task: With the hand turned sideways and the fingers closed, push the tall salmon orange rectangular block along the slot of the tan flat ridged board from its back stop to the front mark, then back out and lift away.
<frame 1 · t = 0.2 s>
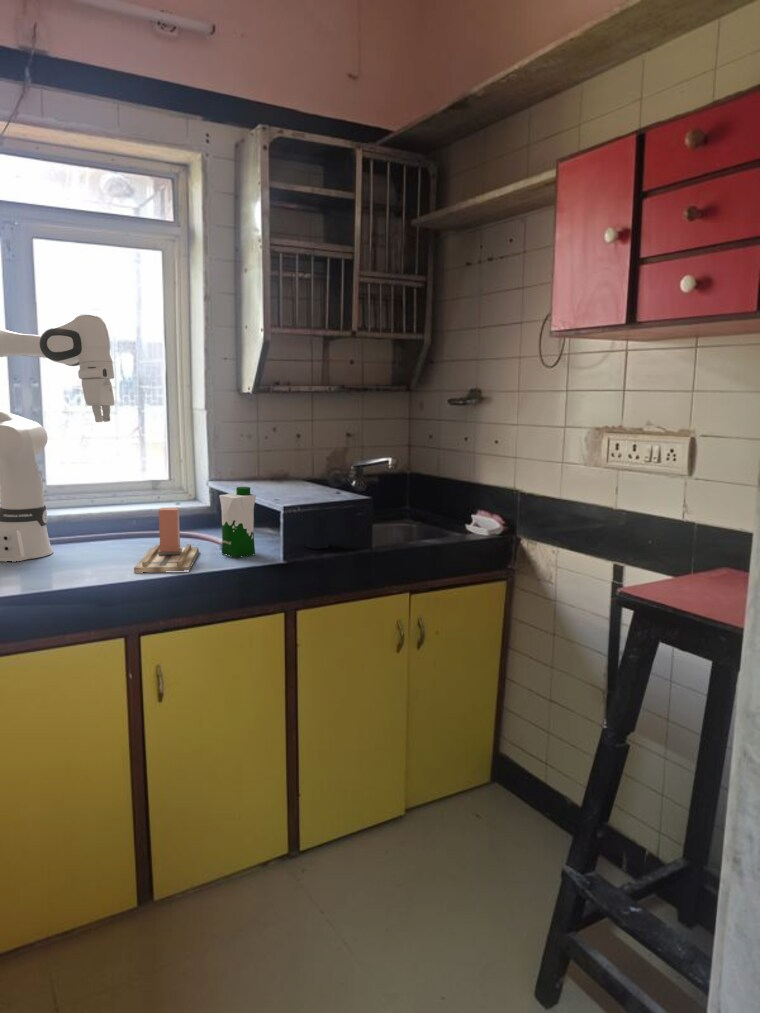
hand: (103, 421, 202), 39 cm above the worktop, tool pointing down, fingers open, 8 cm apart
salmon orange rectangular block: (169, 530, 202), point 8 cm above the worktop, slide at 0.0 cm
tan flat ridged board: (168, 562, 199), on the worktop
milk carton: (238, 555, 210), on the worktop
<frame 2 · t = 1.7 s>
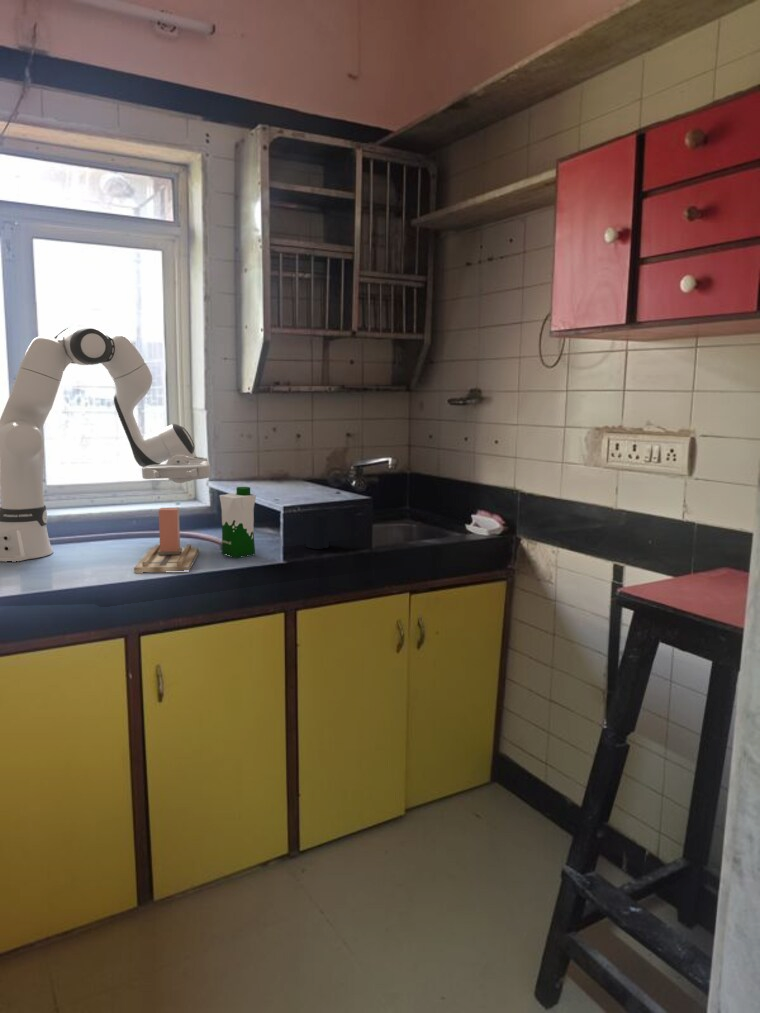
hand: (173, 474, 209), 23 cm above the worktop, tool horizontal, fingers open, 8 cm apart
nothing on the worktop moved.
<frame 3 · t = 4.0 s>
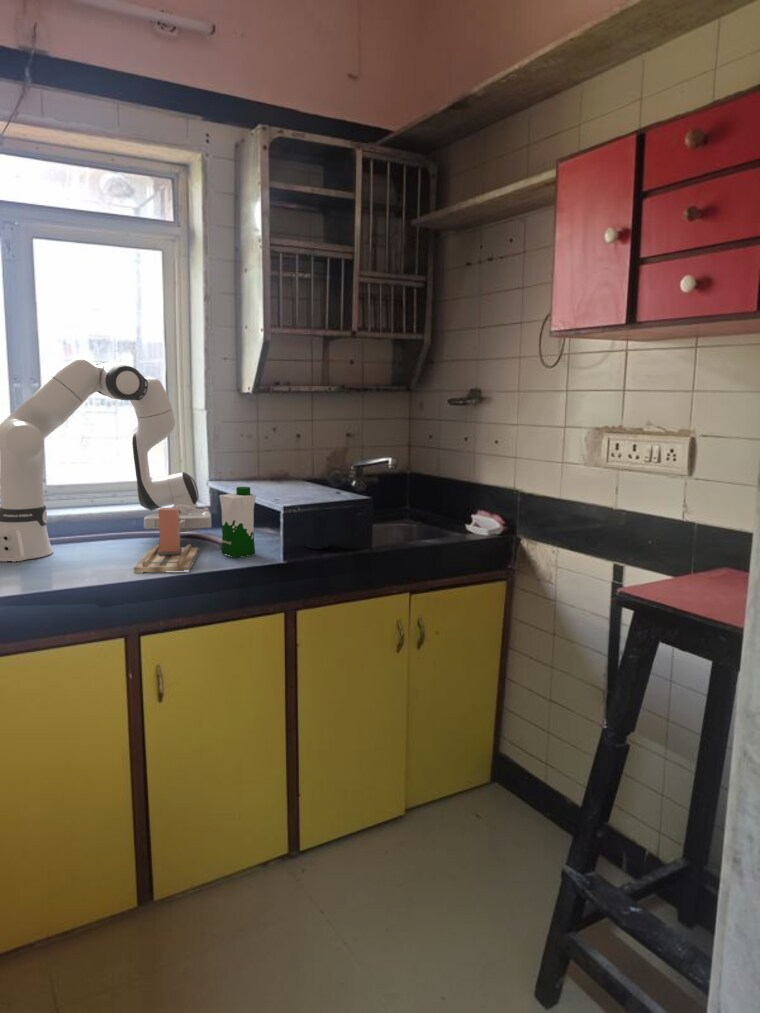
hand: (175, 526, 212), 8 cm above the worktop, tool horizontal, fingers closed
nothing on the worktop moved.
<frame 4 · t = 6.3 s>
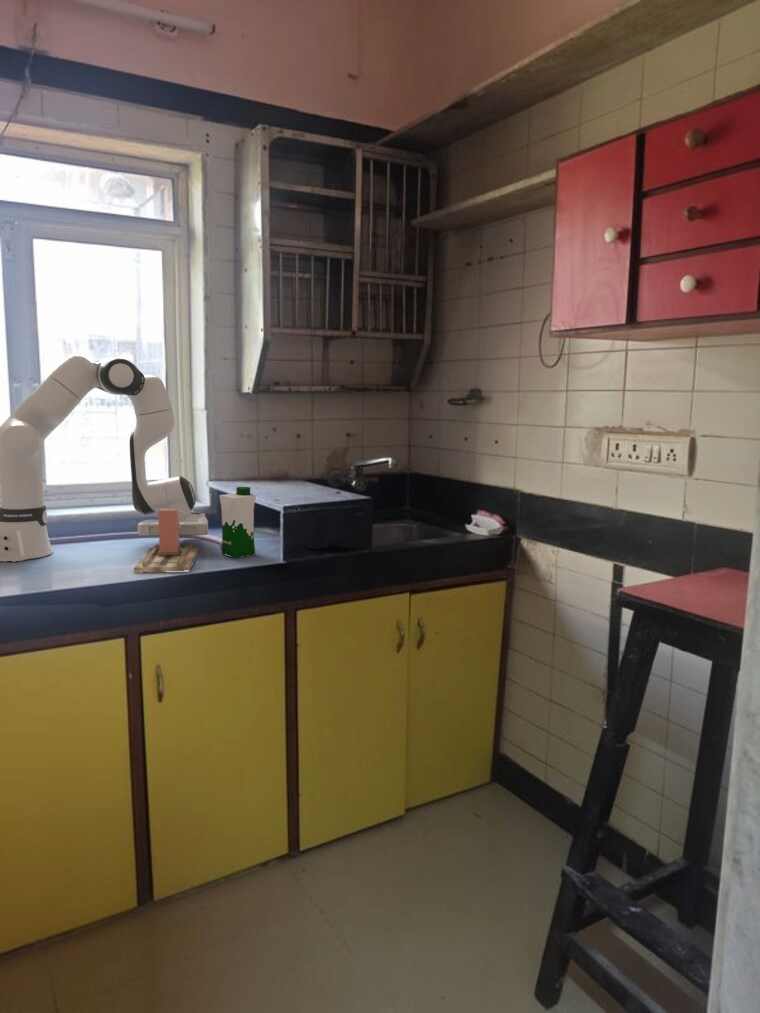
hand: (170, 532, 203), 7 cm above the worktop, tool horizontal, fingers closed, pressing on salmon orange rectangular block
salmon orange rectangular block: (169, 531, 201), point 8 cm above the worktop, slide at 1.1 cm, touching gripper
everything else where it was.
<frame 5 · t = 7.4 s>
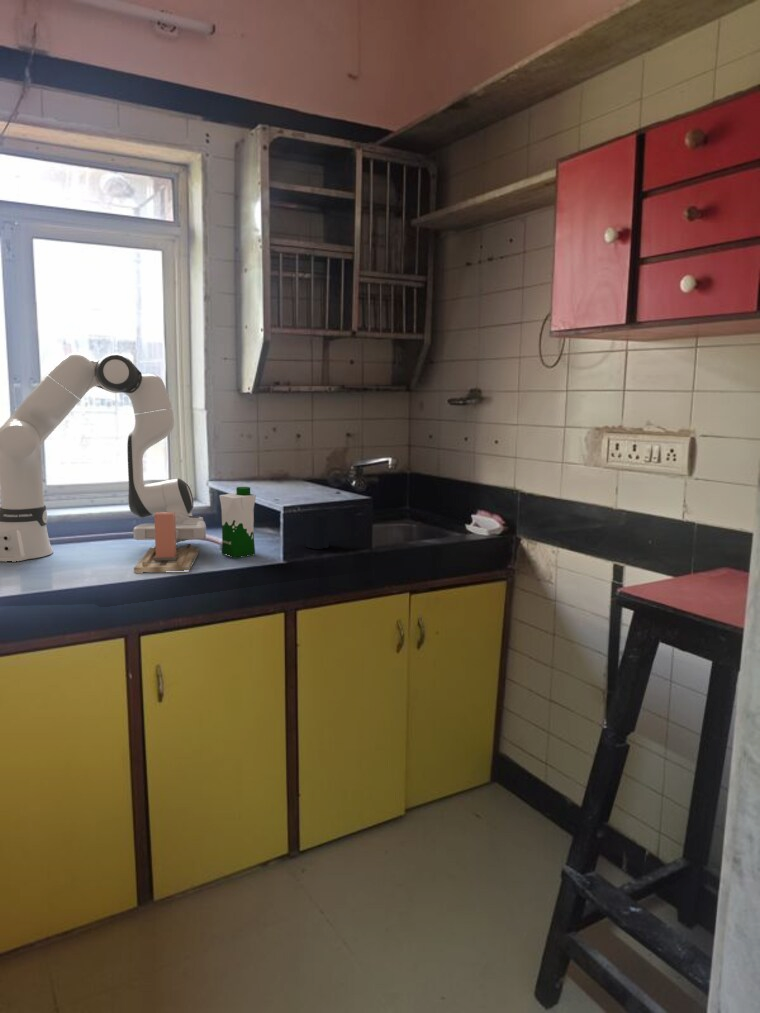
hand: (166, 537, 197), 7 cm above the worktop, tool horizontal, fingers closed, pressing on salmon orange rectangular block
salmon orange rectangular block: (165, 535, 195), point 8 cm above the worktop, slide at 7.2 cm, touching gripper
everything else where it was.
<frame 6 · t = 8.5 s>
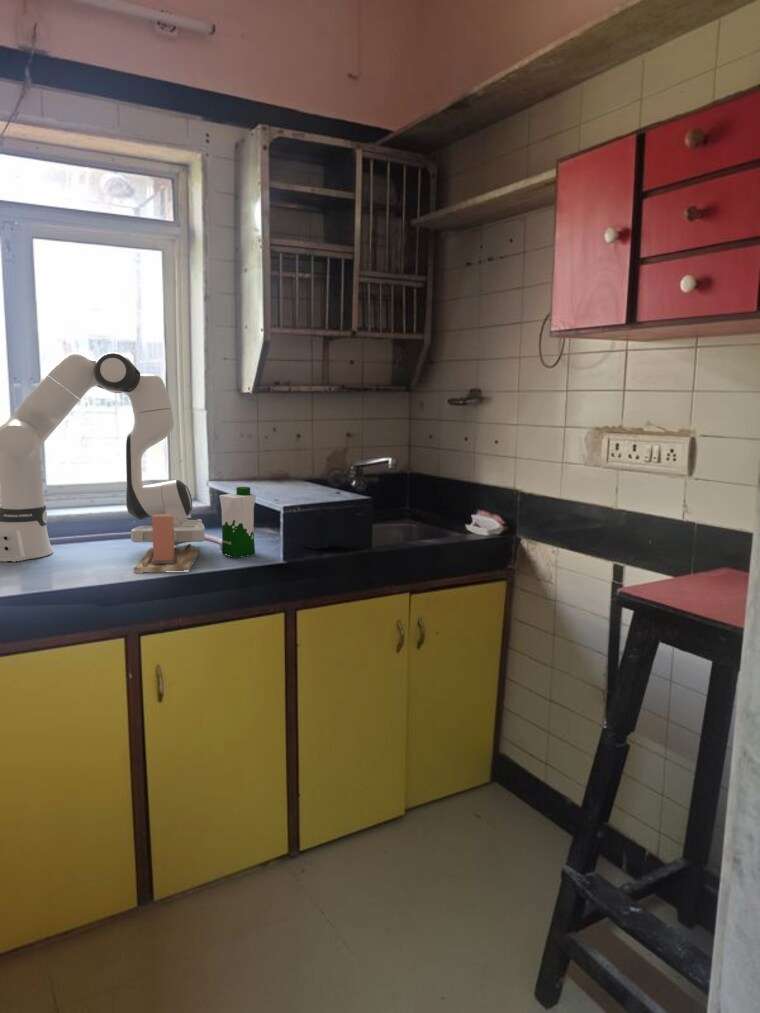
hand: (164, 539, 193), 7 cm above the worktop, tool horizontal, fingers closed, pressing on salmon orange rectangular block
salmon orange rectangular block: (163, 538, 191), point 8 cm above the worktop, slide at 10.7 cm, touching gripper
everything else where it was.
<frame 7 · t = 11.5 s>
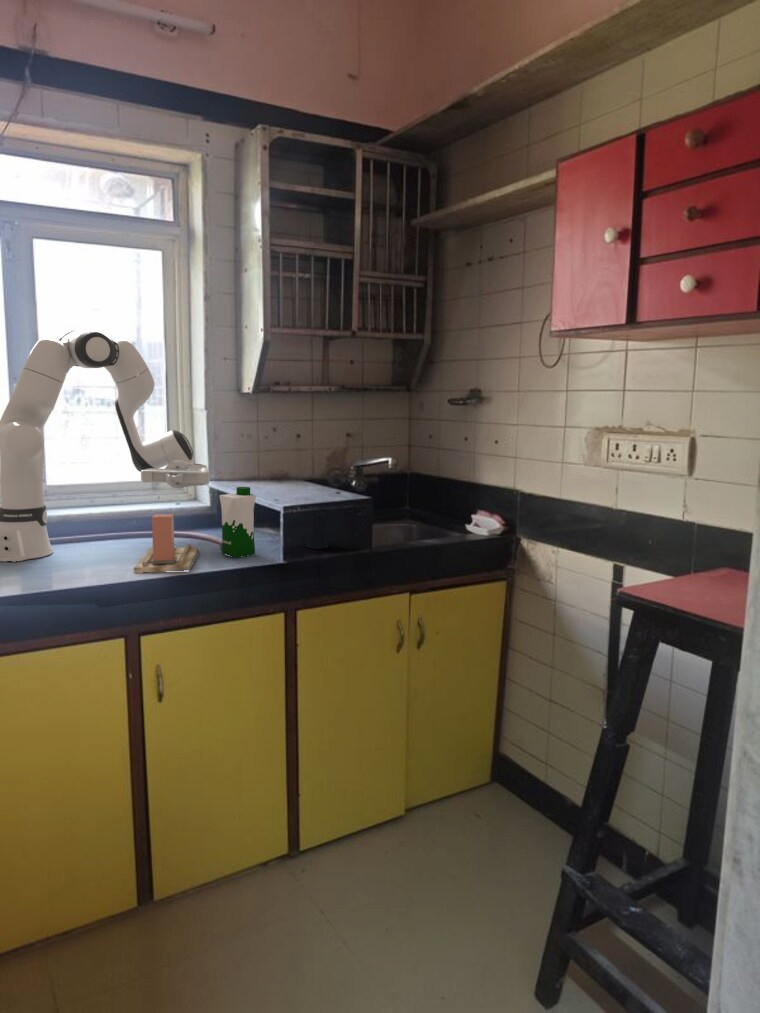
hand: (172, 478, 209), 22 cm above the worktop, tool horizontal, fingers closed
salmon orange rectangular block: (163, 538, 191), point 8 cm above the worktop, slide at 10.9 cm
everything else where it was.
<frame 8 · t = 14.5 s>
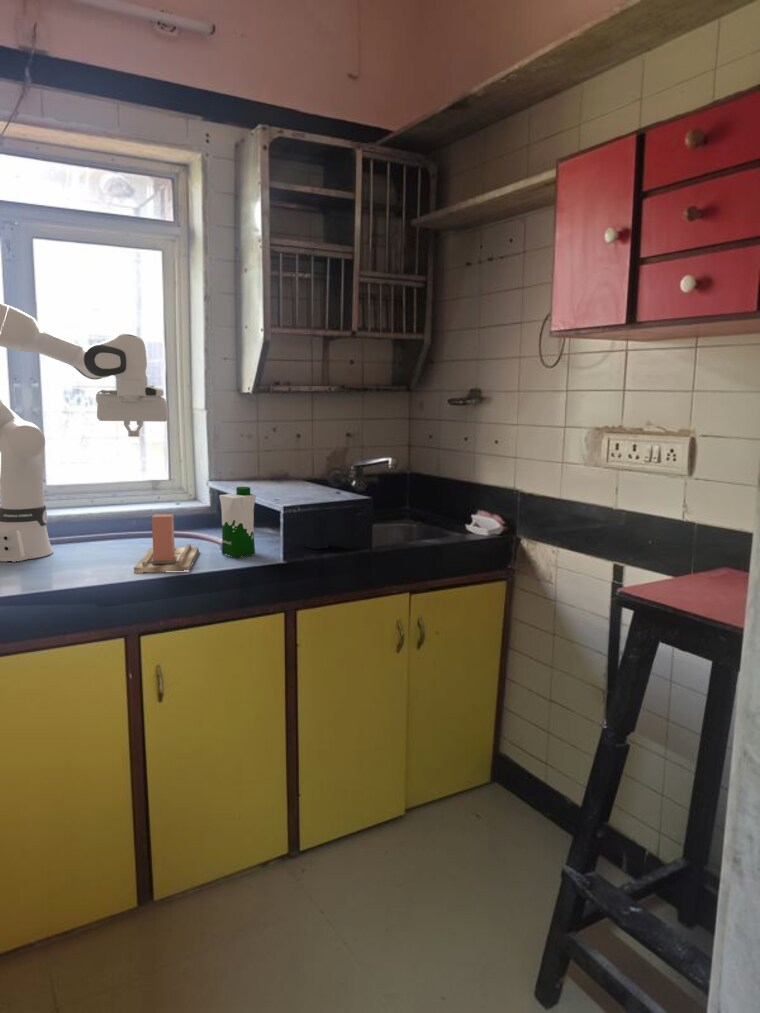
hand: (133, 436, 212), 34 cm above the worktop, tool pointing down, fingers closed
nothing on the worktop moved.
at the end: salmon orange rectangular block slide at 10.9 cm; milk carton moved 0.2 cm from its start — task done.
